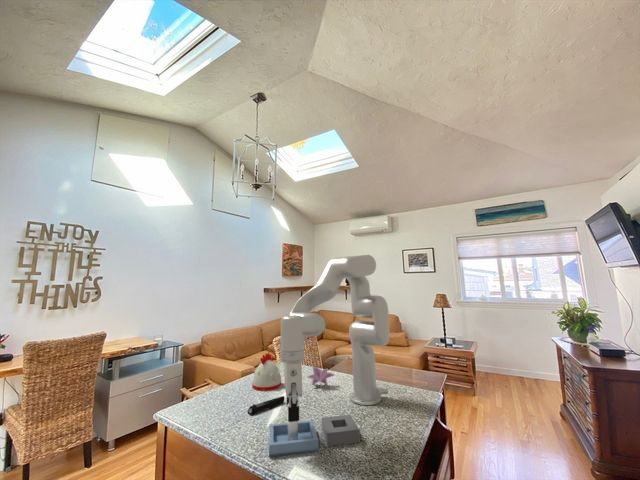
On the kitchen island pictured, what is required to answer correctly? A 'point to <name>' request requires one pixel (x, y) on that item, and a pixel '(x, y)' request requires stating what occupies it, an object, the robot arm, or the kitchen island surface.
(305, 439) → the parts tray
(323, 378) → the lily
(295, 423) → the white rounded cylinder piece
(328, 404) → the kitchen island surface
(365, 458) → the kitchen island surface
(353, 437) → the gray square hole block
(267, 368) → the knit hat
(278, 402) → the electric trimmer
